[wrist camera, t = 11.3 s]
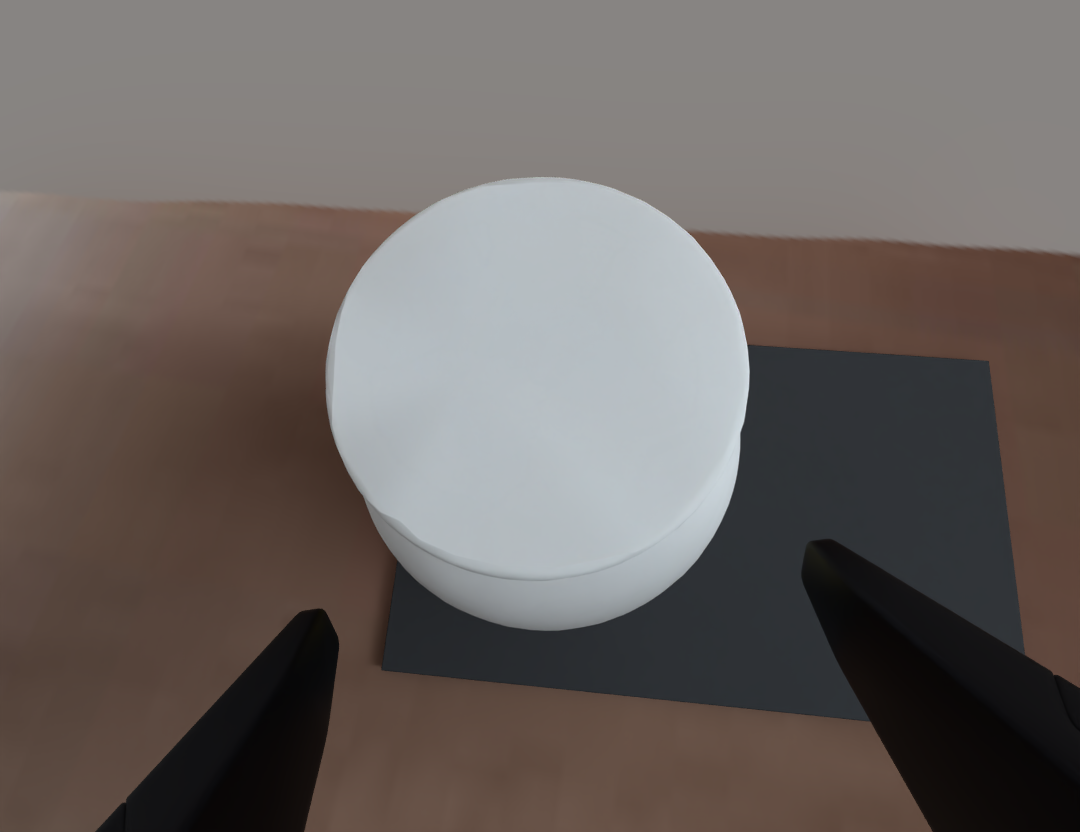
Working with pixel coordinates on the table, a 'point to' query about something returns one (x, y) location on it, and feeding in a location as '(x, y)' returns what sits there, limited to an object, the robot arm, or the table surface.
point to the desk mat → (781, 546)
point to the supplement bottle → (541, 400)
